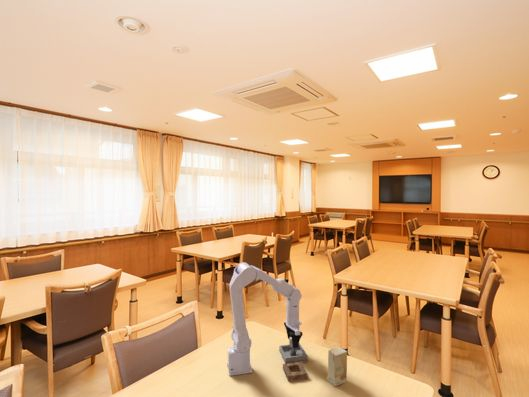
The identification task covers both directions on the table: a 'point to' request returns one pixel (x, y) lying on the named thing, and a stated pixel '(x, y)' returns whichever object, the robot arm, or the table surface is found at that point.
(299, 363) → the socket
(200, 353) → the table surface
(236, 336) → the robot arm
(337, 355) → the skincare box
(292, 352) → the pin
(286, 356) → the tray
